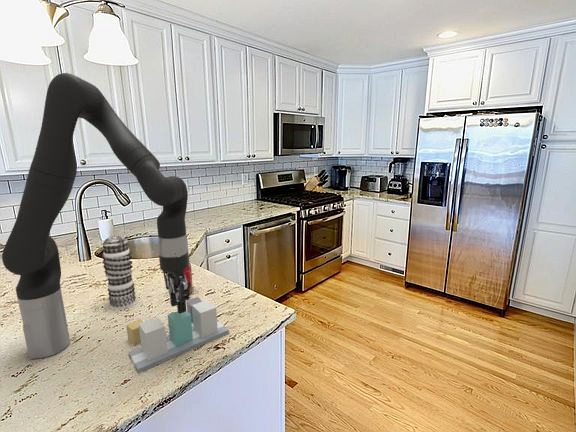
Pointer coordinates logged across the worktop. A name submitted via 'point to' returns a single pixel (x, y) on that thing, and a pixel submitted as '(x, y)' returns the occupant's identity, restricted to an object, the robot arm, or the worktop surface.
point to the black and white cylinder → (118, 272)
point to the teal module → (180, 328)
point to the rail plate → (161, 348)
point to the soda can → (189, 276)
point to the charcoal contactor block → (192, 302)
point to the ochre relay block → (134, 332)
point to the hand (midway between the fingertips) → (178, 308)
